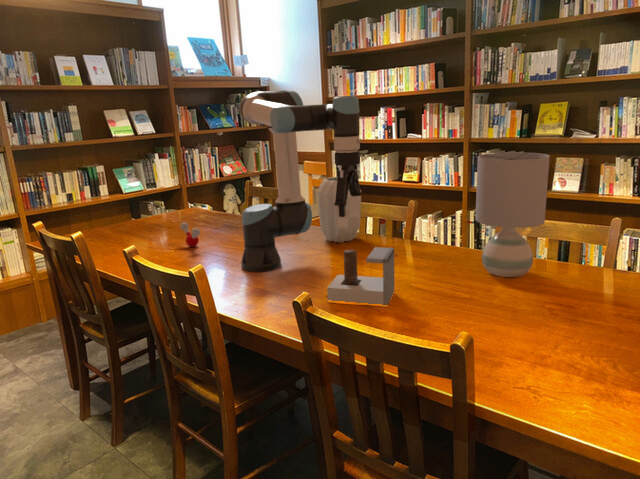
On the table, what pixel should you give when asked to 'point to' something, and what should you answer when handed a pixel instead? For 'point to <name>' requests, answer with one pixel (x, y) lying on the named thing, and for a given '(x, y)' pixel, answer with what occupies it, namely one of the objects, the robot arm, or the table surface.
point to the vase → (335, 213)
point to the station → (367, 282)
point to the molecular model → (190, 235)
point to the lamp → (510, 207)
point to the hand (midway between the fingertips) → (349, 221)
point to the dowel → (350, 267)
